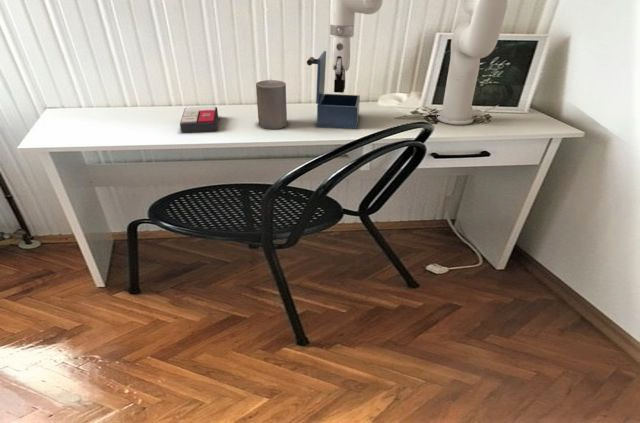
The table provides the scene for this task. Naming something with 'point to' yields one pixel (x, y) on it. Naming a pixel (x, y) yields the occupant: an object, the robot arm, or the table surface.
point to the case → (338, 111)
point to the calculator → (199, 119)
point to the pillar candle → (271, 104)
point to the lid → (319, 74)
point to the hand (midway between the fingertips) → (339, 90)
